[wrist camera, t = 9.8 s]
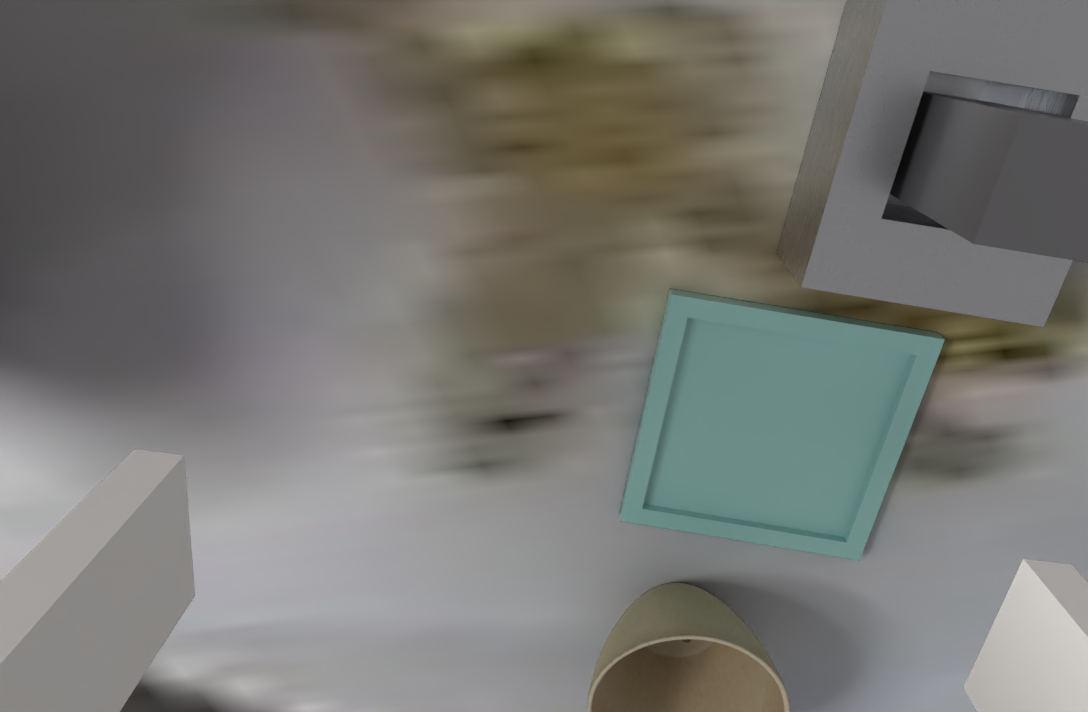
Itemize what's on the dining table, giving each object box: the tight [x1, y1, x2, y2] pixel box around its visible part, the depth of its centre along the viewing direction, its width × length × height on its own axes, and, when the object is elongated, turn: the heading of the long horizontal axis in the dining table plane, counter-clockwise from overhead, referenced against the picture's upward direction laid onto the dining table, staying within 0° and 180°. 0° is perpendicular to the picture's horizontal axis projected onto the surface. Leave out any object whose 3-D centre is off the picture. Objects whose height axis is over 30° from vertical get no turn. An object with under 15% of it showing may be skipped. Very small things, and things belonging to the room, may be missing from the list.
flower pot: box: [587, 583, 790, 712], centre depth 42 cm, size 10×10×7 cm
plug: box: [890, 91, 1088, 263], centre depth 28 cm, size 4×4×10 cm
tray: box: [620, 289, 945, 561], centre depth 39 cm, size 13×13×1 cm
